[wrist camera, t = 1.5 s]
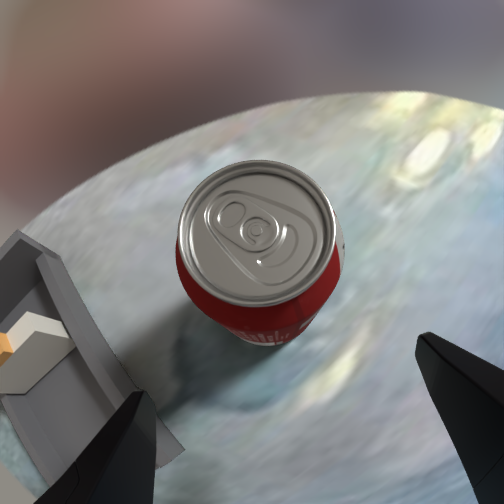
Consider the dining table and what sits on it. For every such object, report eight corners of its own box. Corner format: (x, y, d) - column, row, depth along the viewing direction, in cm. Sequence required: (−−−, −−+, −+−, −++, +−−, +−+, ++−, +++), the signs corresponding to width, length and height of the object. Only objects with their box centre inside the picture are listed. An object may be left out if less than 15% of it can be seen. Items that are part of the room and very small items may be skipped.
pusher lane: (185, 449, 19) (154, 474, 13) (91, 506, 17) (50, 529, 12) (59, 255, 25) (17, 229, 19) (-8, 326, 23) (-52, 313, 17)
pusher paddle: (82, 340, 21) (25, 327, 15) (24, 393, 20) (-32, 391, 14) (73, 325, 22) (16, 307, 16) (17, 378, 20) (-38, 373, 14)
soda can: (277, 366, 21) (275, 369, 9) (200, 306, 22) (125, 246, 11) (335, 287, 22) (387, 207, 11) (258, 234, 24) (240, 122, 13)
